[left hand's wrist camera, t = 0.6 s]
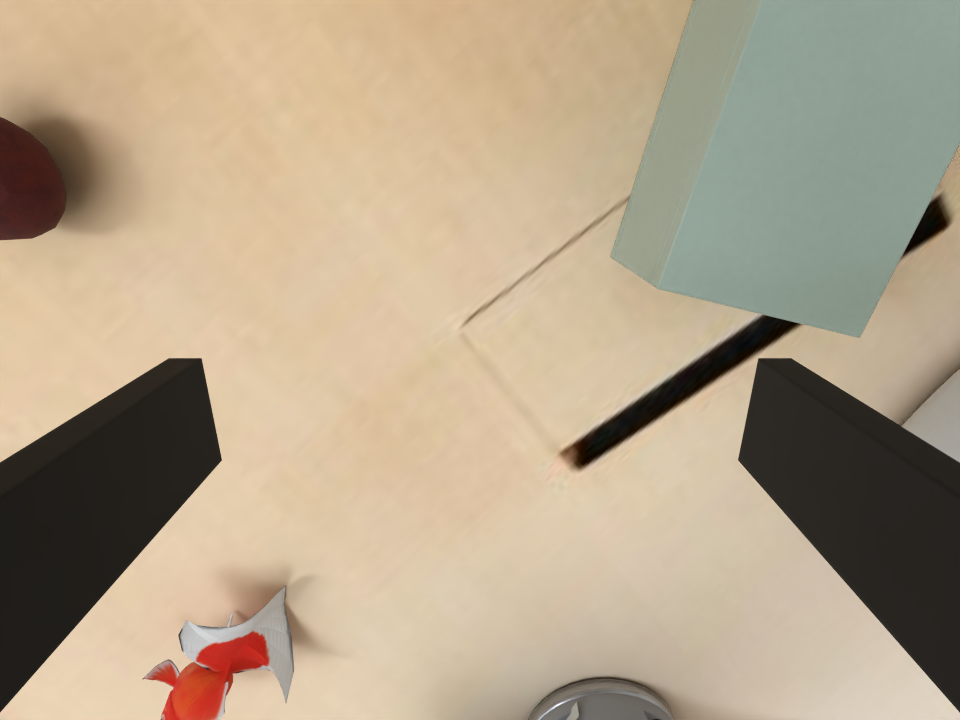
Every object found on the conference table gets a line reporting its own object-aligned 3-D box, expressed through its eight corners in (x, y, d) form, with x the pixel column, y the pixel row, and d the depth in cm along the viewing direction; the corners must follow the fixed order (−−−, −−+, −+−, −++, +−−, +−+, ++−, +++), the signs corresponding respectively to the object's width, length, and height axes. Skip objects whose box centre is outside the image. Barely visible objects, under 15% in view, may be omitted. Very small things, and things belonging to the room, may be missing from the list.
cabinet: (716, -73, 30) (829, -187, 21) (898, -17, 31) (1087, -101, 22) (610, 257, 37) (656, 288, 27) (762, 294, 38) (860, 338, 28)
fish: (89, 658, 44) (81, 772, 36) (245, 528, 47) (268, 607, 40) (184, 697, 50) (194, 801, 43) (315, 580, 54) (347, 657, 46)
